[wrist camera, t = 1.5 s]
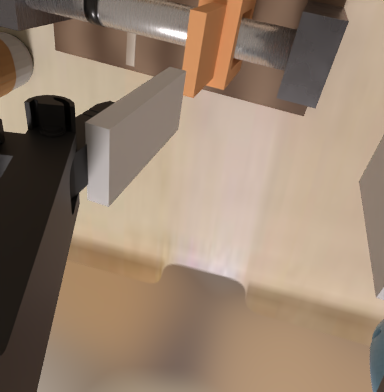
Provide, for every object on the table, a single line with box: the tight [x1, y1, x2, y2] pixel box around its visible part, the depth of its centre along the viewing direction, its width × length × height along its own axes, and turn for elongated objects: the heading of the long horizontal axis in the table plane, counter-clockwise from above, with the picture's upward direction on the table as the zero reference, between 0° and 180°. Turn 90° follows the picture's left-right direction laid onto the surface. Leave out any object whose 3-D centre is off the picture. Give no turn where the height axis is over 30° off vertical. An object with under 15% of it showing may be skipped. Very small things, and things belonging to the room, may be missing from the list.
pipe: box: [0, 0, 349, 108], centre depth 30 cm, size 29×6×9 cm, turn 82°
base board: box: [54, 0, 346, 116], centre depth 34 cm, size 29×14×2 cm, turn 82°
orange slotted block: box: [182, 0, 256, 98], centre depth 26 cm, size 3×6×11 cm, turn 172°
